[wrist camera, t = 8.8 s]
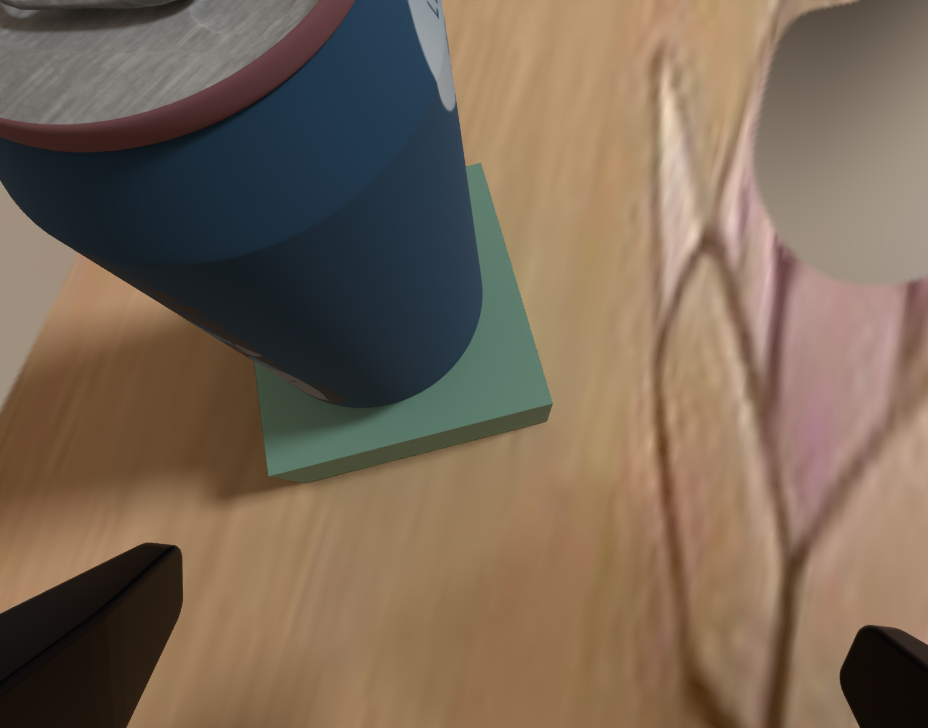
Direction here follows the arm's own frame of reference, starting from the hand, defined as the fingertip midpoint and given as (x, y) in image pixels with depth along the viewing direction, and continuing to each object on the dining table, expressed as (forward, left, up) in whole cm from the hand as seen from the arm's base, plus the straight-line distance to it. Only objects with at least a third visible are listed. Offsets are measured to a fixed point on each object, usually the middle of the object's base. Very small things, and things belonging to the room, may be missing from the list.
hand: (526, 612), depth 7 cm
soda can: (+9, +2, -9) cm, 12 cm away
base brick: (+9, +2, -11) cm, 15 cm away
